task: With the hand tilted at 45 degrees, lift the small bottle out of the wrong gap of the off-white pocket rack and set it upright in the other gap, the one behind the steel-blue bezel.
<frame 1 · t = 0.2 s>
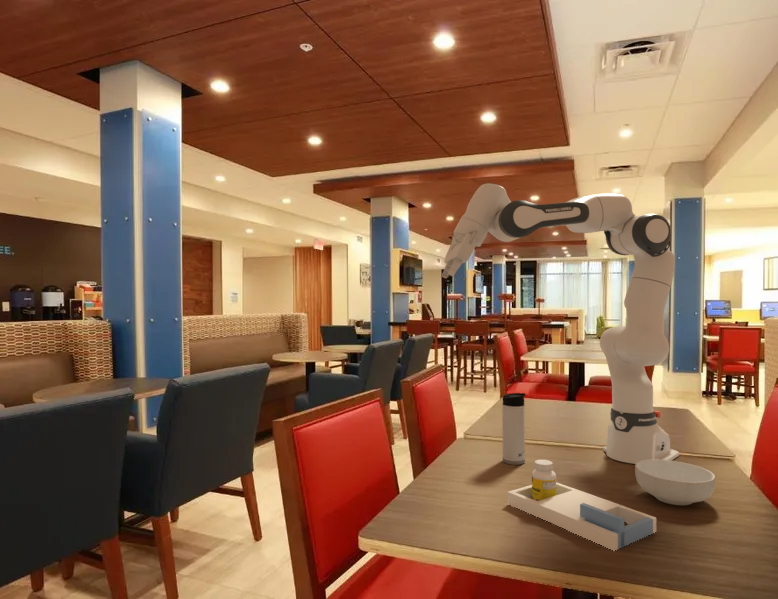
hand: (447, 276, 151), 54 cm above the table, tool tilted 30°, fingers open, 8 cm apart
supplement bottle: (544, 505, 121), resting in pocket rack
pocket rack: (577, 517, 114), on the table
cereal bowl: (674, 500, 124), on the table
travel mug: (514, 462, 153), on the table
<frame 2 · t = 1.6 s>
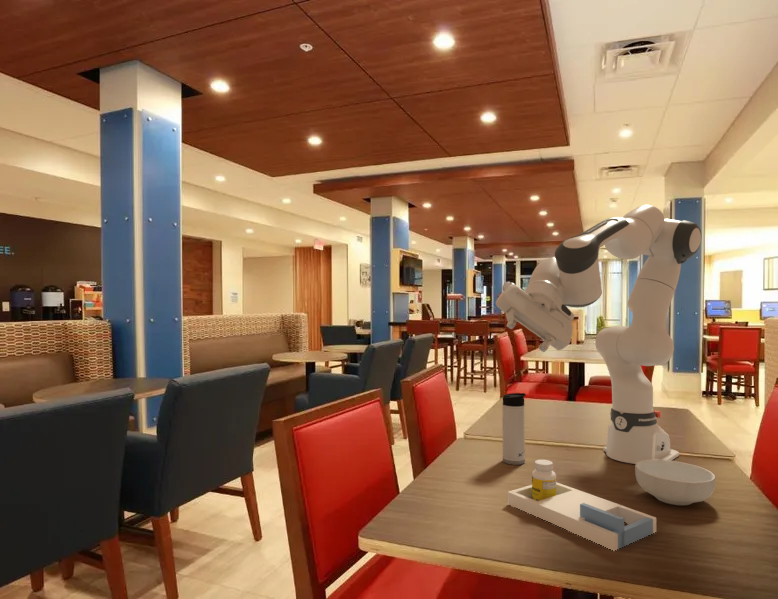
hand: (526, 337, 124), 38 cm above the table, tool tilted 55°, fingers open, 8 cm apart
nothing on the table moved.
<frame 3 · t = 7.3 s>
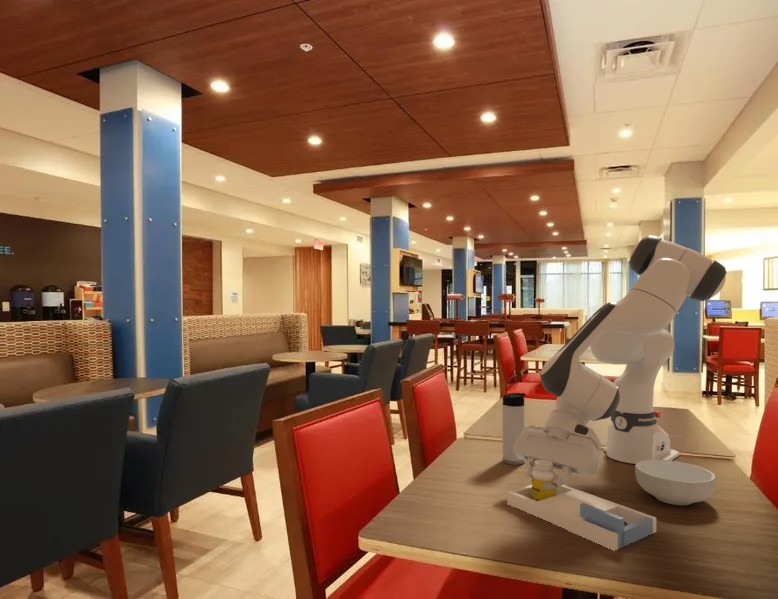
hand: (542, 481, 121), 5 cm above the table, tool tilted 45°, fingers closed on supplement bottle, 5 cm apart
supplement bottle: (544, 505, 121), resting in pocket rack, touching gripper
everything else where it was.
when the fingers open (7 cm above the table, at t = 13.2 s): supplement bottle stays where it is, resting in pocket rack.
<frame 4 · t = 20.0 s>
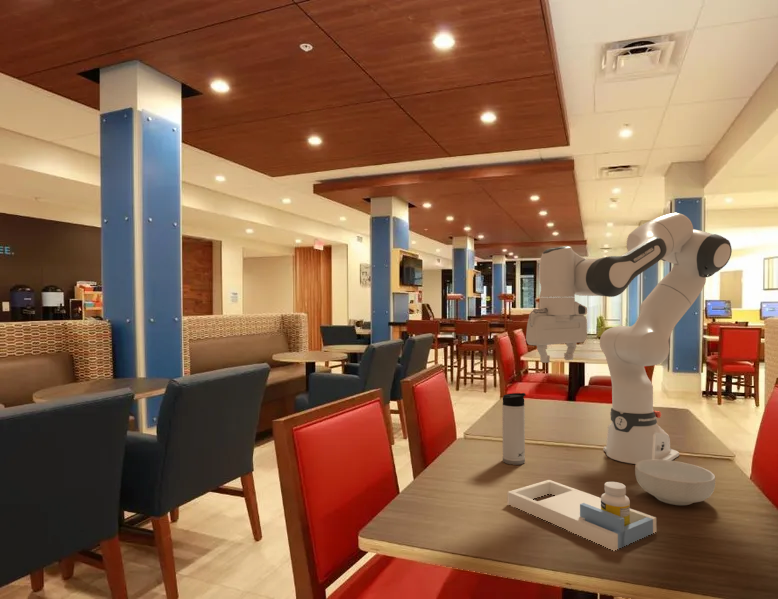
hand: (557, 361, 137), 31 cm above the table, tool pointing down, fingers open, 8 cm apart
supplement bottle: (615, 534, 106), resting in pocket rack
everything else where it was.
at the end: supplement bottle 0.5 cm from the target spot on the pocket rack, point 0.0 cm above the pocket rack's base; supplement bottle tilted 0°; the gripper is holding nothing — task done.
